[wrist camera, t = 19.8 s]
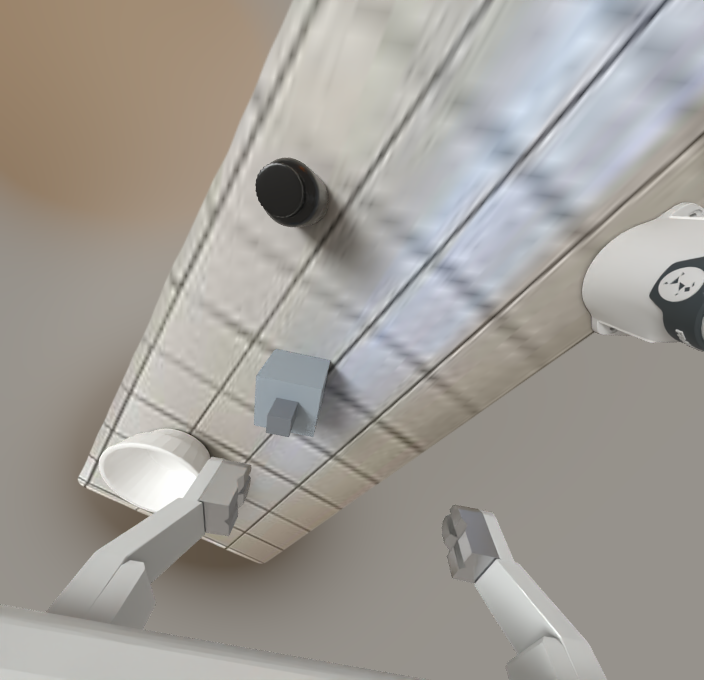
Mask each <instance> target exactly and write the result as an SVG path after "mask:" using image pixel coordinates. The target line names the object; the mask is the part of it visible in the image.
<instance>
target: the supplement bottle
mask: <svg viewBox="0 0 704 680" xmlns="http://www.w3.org/2000/svg"><path fill="white" fill-rule="evenodd" d="M256 192H257V197H258V201H259V202H260V203H261V206H263V208H264V209H265V211H266V212H267V214H268V215H269V216H270V217H271V218H272V219H273V220H274V221H276V222H277V223H279V224H281V225H283V226H287V227H301V226H309V225H313V224H315V223H317V222H318V221H320V220H321V219H322V218H323V216H324V215H325V213H326V211H327V208H328V192H327V189H326V186H325V184H324V183H323V181H322V180H321V179H320V178H319V177H318V176H317V175H316V174H315V173H314V172H313V171H312V170H311V169H309V168H308V167H307V166H306V165H305V164H303V163H302V162H300V161H298V160H296V159H292V158H280V159H277V160H275V161H273V162H271V163H270V164H267V166H265V167H263V169H262V170H260V173H259V174H258V177H257V179H256Z"/></svg>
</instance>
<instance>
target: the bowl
mask: <svg viewBox="0 0 704 680" xmlns="http://www.w3.org/2000/svg"><path fill="white" fill-rule="evenodd" d="M209 459H210V455H209V453H208V451H207V449H206V448H205V446H204V445H203V444H202V443H201V442H200V441H199V440H197V439H196V438H194V437H193V436H191V435H189V434H187V433H185V432H182V431H179V430H175V429H158V430H155V431H152V432H145V433H139V434H136V435H134V436H131V437H129V438H127V439H125V440H123V441H121V442H119V443H117V444H115V445H113V446H111V447H109V448H108V449H107V450H105V451H104V452H103V453H102V455H101V457H100V459H99V471H100V474H101V476H102V478H103V480H104V481H105V482H106V484H107V485H108V486H109V487H110V488H111V489H112V490H113V491H114V492H115V493H116V494H117V495H119V496H120V497H121V498H123V499H124V500H126V501H128V502H129V503H131V504H133V505H135V506H137V507H139V508H142V509H145V510H147V511H150V512H154V513H156V512H157V511H159V510H160V509H162V508H163V507H165V506H166V505H168V504H169V503H171V502H172V501H174V500H175V499H177V498H183V497H184V495H185V494H186V492H187V491H188V489H189V488H190V486H191V485H192V483H193V482H194V480H195V479H196V477H197V476H198V474H199V473H200V471H201V470H202V468H203V467H204V465H205V464H206V462H207V461H208V460H209Z"/></svg>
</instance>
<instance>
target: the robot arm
mask: <svg viewBox="0 0 704 680" xmlns="http://www.w3.org/2000/svg"><path fill="white" fill-rule="evenodd" d="M690 215H691V216H690ZM689 216H690V217H689ZM582 296H583V301H584V304H585V306H586V308H587V309H588V311H589V312H590V314H591V316H592V329H593V331H594V332H596V333H598V334H602V335H626V336H627V335H628V336H634V337H637V338H639V339H641V340H644V341H647V342H650V343H656V342H682V343H684V344H687V346H689V347H692V348H694V349H697V350H699V351H704V208H702V207H701V206H699V205H697V204H695V203H686V202H684V203H680V204H678V205H676V206H674V207H673V208H671V209H669V210H668V211H667V212H665V213H664V214H662V215H661V216H660V217H658V218H656V219H654V220H652V221H649V222H646V223H643V224H641V225H638V226H635V227H633V228H631V229H629V230H627V231H625V232H624V233H622V234H620V235H619V236H617V237H616V238H615V239H613V240H612V241H611V242H610V243H608V244H607V245H606V246H605V247H604V248H603V249H602V250H601V251H600V252H599V254H598V255H597V256H596V257H595V259H594V260H593V262H592V263H591V265H590V267H589V268H588V270H587V273H586V275H585V278H584V281H583V287H582ZM610 327H611V328H610ZM250 472H251V465H249V464H244V463H240V462H235V461H230V460H226V459H221V458H216V457H211V458H210V459H209V460H208V461H207V462H206V464H205V465H204V467H203V468H202V470H201V471H200V473H199V474H198V476H197V477H196V479H195V480H194V482H193V483H192V485H191V486H190V488H189V489H188V491H187V492H186V494H185V495H184V497H183V498H177V499H175V500H174V501H172V502H171V503H169V504H168V505H166V506H165V507H163V508H162V509H160V510H159V511H157V512H156V513H154V514H152V515H151V516H149V517H148V518H146V519H145V520H143V521H142V522H140V523H139V524H137V525H136V526H134V527H133V528H131V529H130V530H128V531H126V532H125V533H123V534H122V535H120V536H119V537H118V538H116V539H114V540H113V541H111V542H110V543H108V544H106V545H105V546H103V547H102V548H100V549H99V550H97V551H96V552H95V553H94V554H93V555H92V556H91V558H90V559H89V560H88V561H87V562H86V564H85V565H84V566H83V567H82V569H81V570H80V571H79V572H78V573H77V575H76V576H75V577H74V578H73V579H72V581H71V582H70V583H69V584H68V586H67V587H66V588H65V589H64V590H63V592H62V593H61V594H60V595H59V597H58V598H57V599H56V600H55V601H54V602H53V604H52V605H51V606H50V607H49V609H48V610H47V611H46V612H41V611H34V610H29V609H23V608H18V607H12V606H6V605H1V604H0V680H426V679H421V678H416V677H410V676H404V675H398V674H392V673H387V672H381V671H376V670H370V669H365V668H359V667H353V666H348V665H342V664H336V663H330V662H325V661H319V660H313V659H308V658H302V657H296V656H291V655H285V654H279V653H274V652H268V651H262V650H257V649H251V648H245V647H239V646H234V645H228V644H222V643H217V642H211V641H205V640H199V639H194V638H188V637H183V636H177V635H170V634H166V633H160V632H154V631H148V630H143V628H144V626H145V624H146V622H147V620H148V618H149V616H150V614H151V613H152V611H153V609H154V607H155V605H156V603H155V597H154V594H153V591H152V587H151V583H152V582H153V581H154V580H155V579H156V578H157V577H158V576H160V575H161V574H162V573H163V572H164V571H165V570H166V569H167V568H168V567H169V566H171V565H172V564H173V563H174V562H175V561H176V560H177V559H178V558H179V557H180V556H181V555H183V554H184V553H185V552H186V551H187V550H188V549H189V548H190V547H191V546H192V545H194V544H195V543H196V542H197V541H198V540H199V539H200V538H201V537H202V536H203V535H205V532H206V533H212V534H218V535H225V536H229V535H230V532H231V530H232V528H233V526H234V524H235V521H236V519H237V517H238V508H239V507H240V506H241V505H243V503H244V501H245V499H246V496H247V493H248V490H249V487H250V481H251V478H250V476H249V474H250ZM450 513H451V514H450V515H447V516H446V517H445V518H444V520H443V524H442V536H443V541H444V544H445V545H446V546H447V548H448V549H449V553H448V555H447V559H448V563H449V567H450V572H451V576H452V578H453V579H457V580H462V581H466V582H471V583H475V584H474V586H475V587H476V588H477V590H478V592H479V593H480V595H481V597H482V598H483V600H484V602H485V603H486V605H487V606H488V608H489V610H490V611H491V613H492V615H493V616H494V618H495V619H496V621H497V623H498V624H499V626H500V628H501V629H502V631H503V632H504V634H505V636H506V637H507V639H508V640H509V642H510V644H511V646H512V647H513V649H514V650H515V652H516V653H517V656H516V657H514V658H513V659H511V660H510V661H509V662H508V663H507V665H506V671H507V674H508V678H509V680H607V678H606V677H605V675H604V673H603V671H602V669H601V667H600V665H599V663H598V661H597V659H596V657H595V655H594V653H593V651H592V649H591V647H590V645H589V643H588V642H587V641H586V640H585V639H584V637H583V636H582V635H581V634H580V633H579V632H578V631H577V629H576V628H575V627H574V626H573V625H572V624H571V623H570V621H569V620H568V619H567V618H566V617H565V616H564V615H563V613H562V612H561V611H560V610H559V609H558V608H557V607H556V605H555V604H554V603H553V602H552V601H551V600H550V599H549V597H548V596H547V595H546V594H545V593H544V592H543V590H542V589H540V587H539V586H538V585H537V584H536V582H535V581H534V580H533V579H532V578H531V577H530V576H529V575H528V573H527V572H526V571H525V570H524V569H523V568H522V566H521V565H520V564H519V563H516V562H514V559H513V557H512V555H511V552H510V550H509V548H508V545H507V543H506V541H505V538H504V536H503V533H502V531H501V528H500V526H499V524H498V521H497V519H496V517H495V515H494V514H493V513H492V512H489V511H484V510H478V509H475V508H470V507H464V506H458V505H453V506H452V507H451V509H450Z"/></svg>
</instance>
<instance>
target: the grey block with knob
mask: <svg viewBox="0 0 704 680" xmlns="http://www.w3.org/2000/svg"><path fill="white" fill-rule="evenodd" d="M329 364H330V360H326V359H321V358H316V357H312V356H307V355H302V354H297V353H293V352H288V351H283V350H278V349H275V350H274V352H273V353H272V355H271V356H270V357H269V359H268V360H267V362H266V363H265V364H264V366H263V367H262V369H261V370H260V371H259V373H258V374H257V376H256V392H255V414H254V425H256V426H261V427H266V433H271V434H276V435H281V436H285V437H289V436H290V433H296V434H301V435H306V436H311V437H313V436H314V432H315V428H316V424H317V420H318V416H319V413H320V409H321V405H322V400H323V395H324V390H325V385H326V380H327V375H328V369H329Z"/></svg>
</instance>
